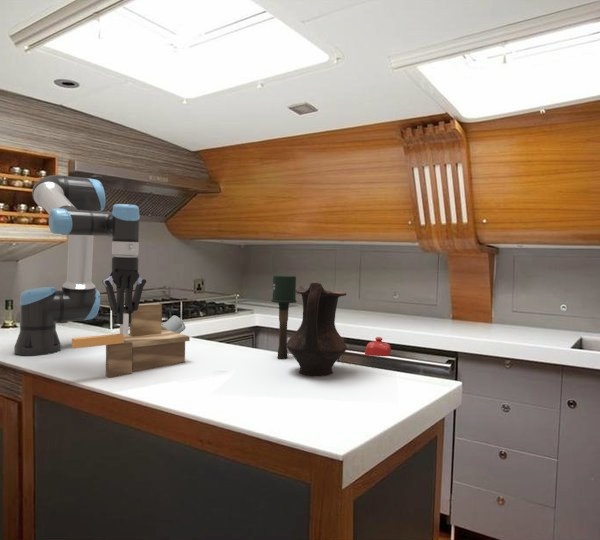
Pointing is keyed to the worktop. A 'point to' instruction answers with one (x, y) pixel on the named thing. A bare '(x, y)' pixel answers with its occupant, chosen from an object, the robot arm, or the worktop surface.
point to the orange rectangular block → (97, 340)
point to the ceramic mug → (174, 325)
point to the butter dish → (378, 348)
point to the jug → (317, 332)
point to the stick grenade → (283, 307)
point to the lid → (150, 328)
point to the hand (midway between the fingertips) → (124, 334)
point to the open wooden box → (141, 357)
